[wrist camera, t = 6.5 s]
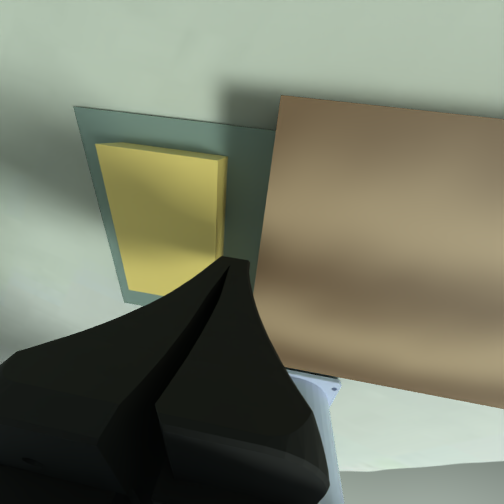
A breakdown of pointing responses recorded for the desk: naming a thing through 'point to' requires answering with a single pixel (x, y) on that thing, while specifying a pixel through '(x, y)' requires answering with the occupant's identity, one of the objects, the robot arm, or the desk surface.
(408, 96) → the desk surface
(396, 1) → the desk surface
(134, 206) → the yellow rectangular block
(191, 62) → the desk surface
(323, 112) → the brown flat block
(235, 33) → the desk surface
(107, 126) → the mat
